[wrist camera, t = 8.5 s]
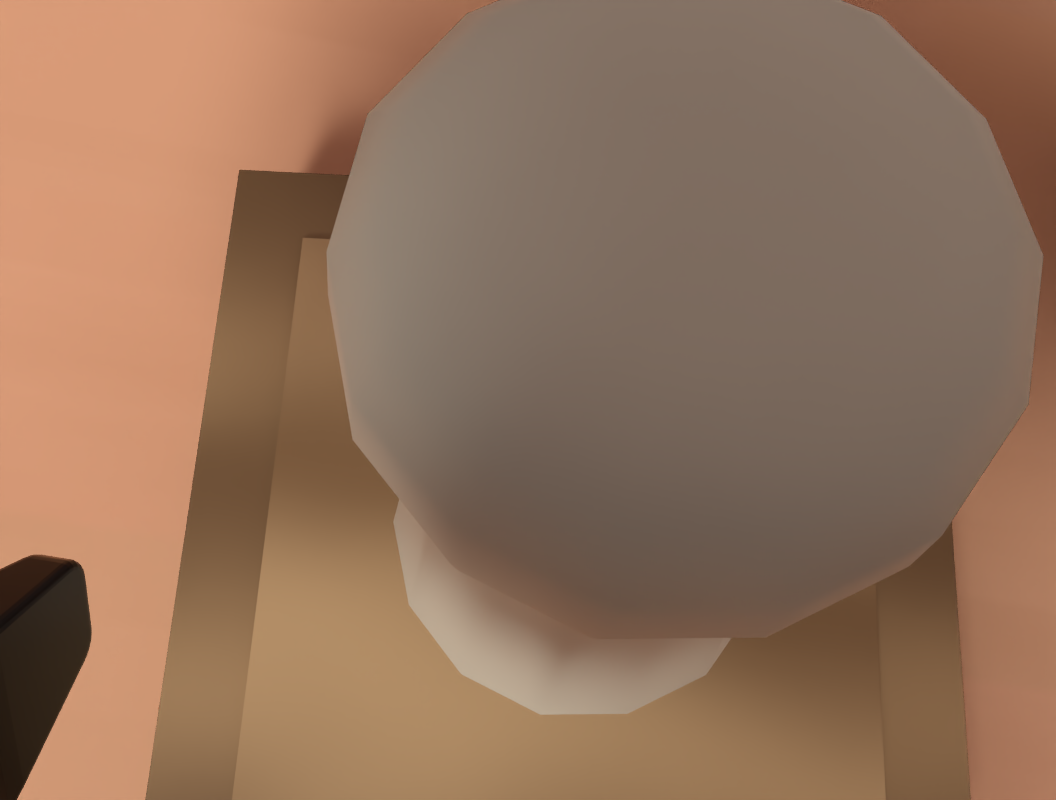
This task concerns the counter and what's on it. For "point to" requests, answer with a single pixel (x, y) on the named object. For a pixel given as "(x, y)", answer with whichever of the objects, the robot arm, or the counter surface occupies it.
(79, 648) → the robot arm
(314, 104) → the counter surface
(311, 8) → the counter surface
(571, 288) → the salt shaker
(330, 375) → the base board
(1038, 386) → the counter surface
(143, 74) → the counter surface
